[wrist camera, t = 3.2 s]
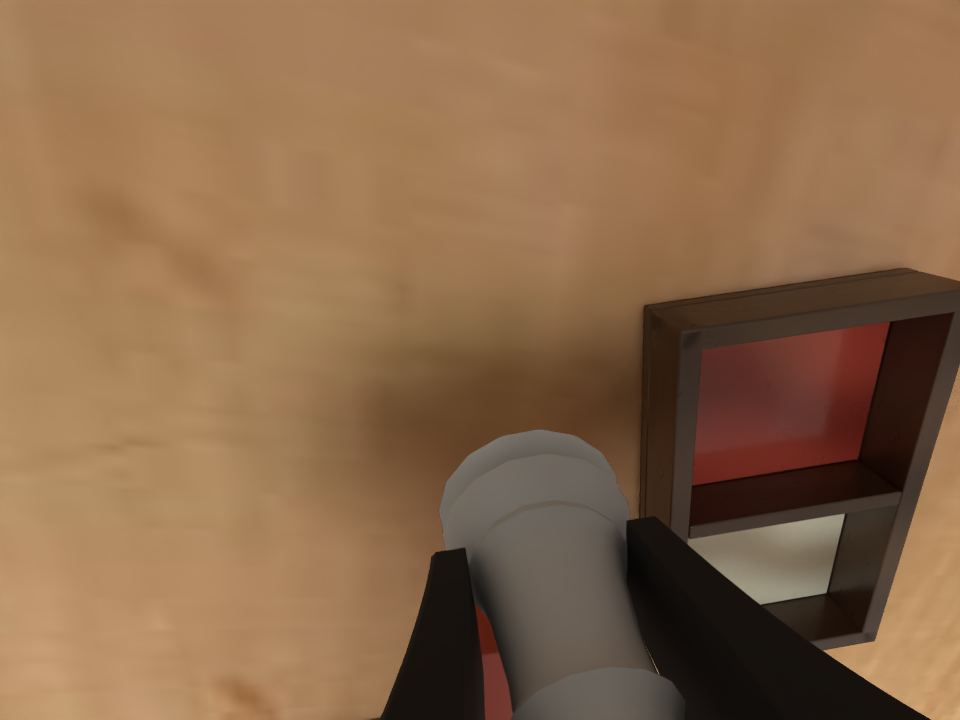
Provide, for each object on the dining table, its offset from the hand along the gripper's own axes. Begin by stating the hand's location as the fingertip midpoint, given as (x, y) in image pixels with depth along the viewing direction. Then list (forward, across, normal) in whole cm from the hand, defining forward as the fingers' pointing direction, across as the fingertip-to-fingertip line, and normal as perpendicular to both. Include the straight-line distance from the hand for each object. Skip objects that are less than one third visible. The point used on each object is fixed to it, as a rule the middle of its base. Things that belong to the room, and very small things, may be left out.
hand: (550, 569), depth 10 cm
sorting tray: (+7, -10, +5) cm, 13 cm away
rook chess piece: (+3, 0, 0) cm, 3 cm away
